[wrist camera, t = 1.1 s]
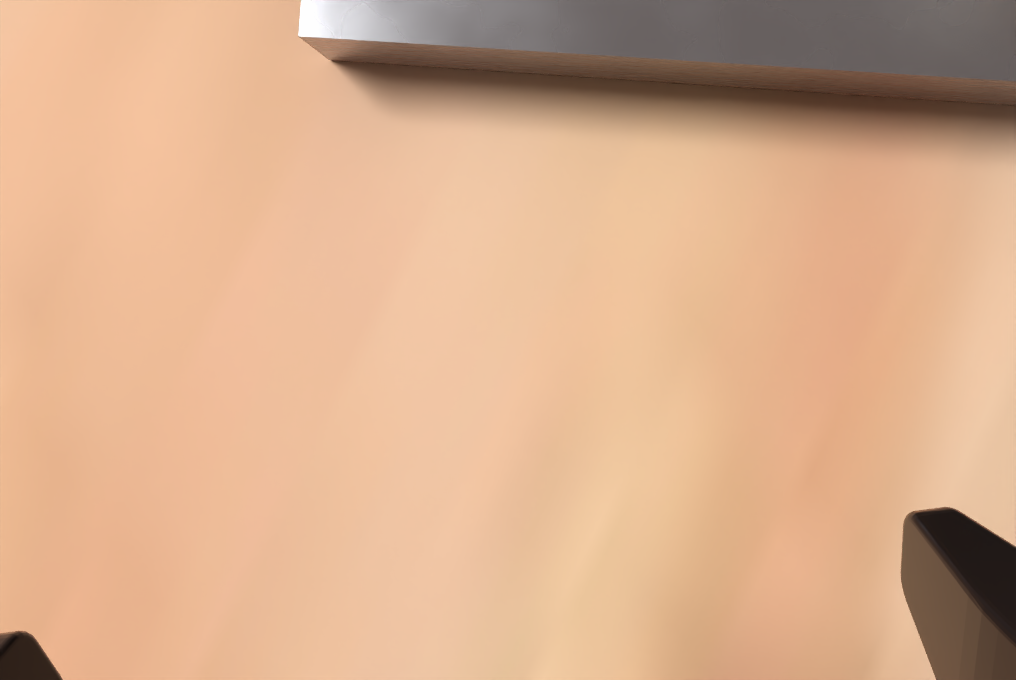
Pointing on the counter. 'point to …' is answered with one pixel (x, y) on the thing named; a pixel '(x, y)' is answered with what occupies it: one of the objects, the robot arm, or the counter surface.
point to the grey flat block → (694, 42)
